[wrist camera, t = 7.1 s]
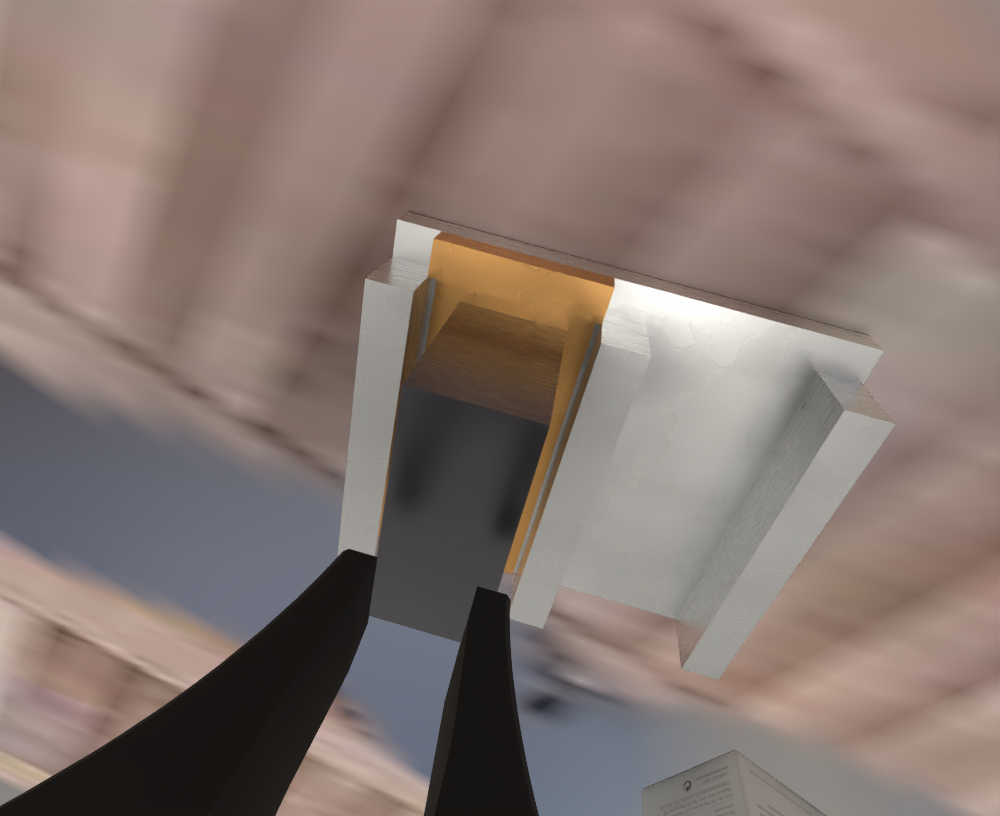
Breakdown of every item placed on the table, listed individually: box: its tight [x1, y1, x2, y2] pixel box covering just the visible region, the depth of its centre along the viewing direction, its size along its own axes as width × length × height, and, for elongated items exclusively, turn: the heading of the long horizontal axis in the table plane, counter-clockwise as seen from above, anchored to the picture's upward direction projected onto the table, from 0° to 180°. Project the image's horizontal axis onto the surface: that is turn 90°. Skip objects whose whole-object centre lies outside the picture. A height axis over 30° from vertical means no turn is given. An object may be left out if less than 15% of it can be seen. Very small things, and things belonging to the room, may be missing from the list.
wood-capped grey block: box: [369, 302, 567, 642], centre depth 15 cm, size 3×7×5 cm, turn 168°
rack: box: [338, 212, 896, 680], centre depth 17 cm, size 13×11×3 cm
